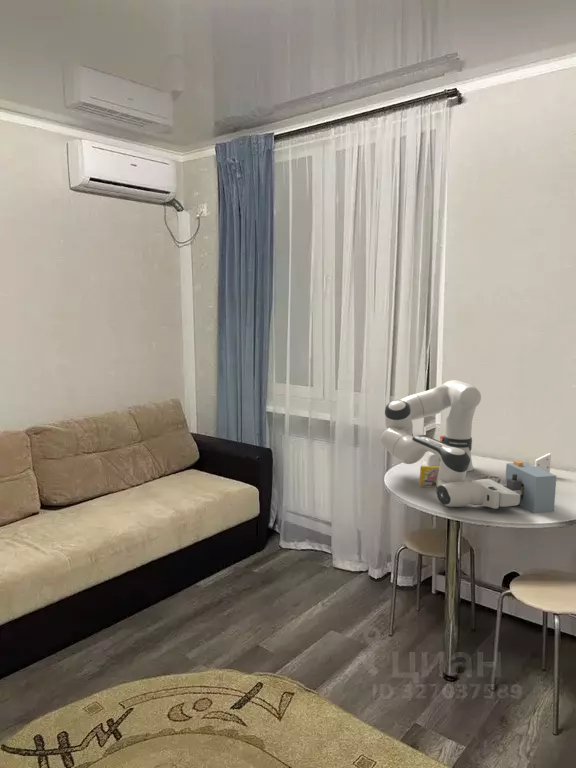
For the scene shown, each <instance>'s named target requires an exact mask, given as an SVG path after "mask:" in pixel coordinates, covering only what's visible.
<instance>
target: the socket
mask: <svg viewBox="0 0 576 768" xmlns="http://www.w3.org/2000/svg"><path fill="white" fill-rule="evenodd" d="M505 465H506V466H505V481H504V482H505V483H504V485H507V479H511V478H512V474H517V479H519V480H521V481H522V485H524V494H523V495H521V501H520V505H519V506H521V507H523V508H524V509H526V510H529V511H531V512H532V513H535V514H536V513H547V512H554V511H555V503H556V502H555V501H556V488H557V475H556V474H553V473H551V472H550V473H549V472H547V471H544V470H542V469H539V468H537V467H535V465H532V464H530V463H527V462H523V461H519V460H513V462H511V463H510V462H509V463H506V464H505Z"/></svg>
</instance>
